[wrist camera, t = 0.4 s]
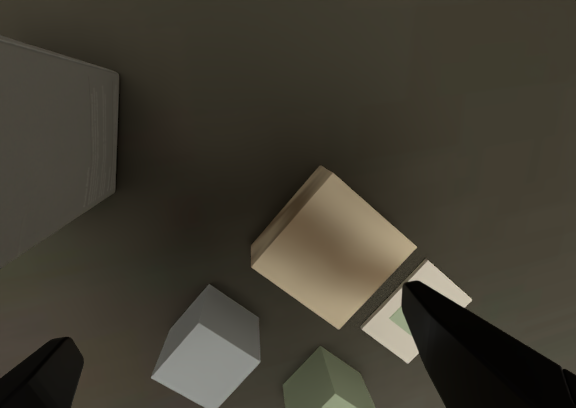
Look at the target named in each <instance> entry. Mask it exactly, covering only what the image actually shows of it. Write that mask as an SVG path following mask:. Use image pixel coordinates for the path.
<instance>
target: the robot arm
mask: <svg viewBox="0 0 576 408" xmlns="http://www.w3.org/2000/svg"><path fill="white" fill-rule="evenodd" d="M401 307H402V312H403V315H404V317H405V320H406V322H407V325H408V327H409V329H410V332H411V334H412V337H413V339H414V342H415V344H416V347H417V349H418V352H419V354H420V357H421V359H422V361H423V364H424V366H425V368H426V370H427V372H428V374H429V376H430V378H431V380H432V382H433V384H434V386H435V388H436V389H437V391H438V393H439V395H440V397H441V399H442V401H443V403H444V405H445V406H446V408H576V375H575V374H573V373H571V372H570V371H568V370H566V369H563V370H562V367H561V366H560V365H558V364H556V363H555V362H553V361H551V360H550V359H548V358H546V357H545V356H543V355H541V354H540V353H538V352H536V351H535V350H533V349H532V348H530V347H528V346H527V345H525V344H523V343H522V342H520V341H518V340H517V339H515V338H513V337H512V336H510V335H508V334H507V333H505V332H503V331H502V330H500V329H498V328H497V327H495V326H493V325H492V324H490V323H489V322H487V321H485V320H484V319H482V318H480V317H479V316H477V315H475V314H474V313H472V312H470V311H469V310H467V309H465V308H464V307H462V306H460V305H459V304H457V303H455V302H454V301H452V300H450V299H449V298H447V297H446V296H444V295H442V294H441V293H439V292H437V291H436V290H434V289H432V288H431V287H429V286H427V285H426V284H424V283H422V282H421V281H418V280H415V281H409V282H405V283H403V286H402V300H401ZM83 364H84V360H83V356H82V354H81V353H80V351H79V349H78V348H77V346H76V345H75V343H74V341H73V340H72V339H71V338H70V337H62V338H55V339H52V340H50V341H48V342H47V343H46V344H44V345H43V346H42V347H41V348H39V349H38V350H37V351H35V352H34V353H33V354H31V355H30V356H29V357H28V358H26V359H25V360H24V361H22V362H21V363H20V364H18V365H17V366H16V367H15V368H13V369H12V370H11V371H9V372H8V373H7V374H5V375H4V376H3V377H2V378H0V408H71V405H72V402H73V398H74V395H75V392H76V388H77V385H78V382H79V378H80V375H81V372H82V369H83Z"/></svg>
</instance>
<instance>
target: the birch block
mask: <svg viewBox="0 0 576 408" xmlns="http://www.w3.org/2000/svg"><path fill="white" fill-rule="evenodd" d="M416 248H417V247H416V246H415V245H414V244H413V243H412V242H411V241H410V240H408V239H407V238H406V237H405V236H404V235H403V234H402V233H401V232H399V231H398V230H397V229H396V228H395V227H394V226H393V225H391V224H390V223H389V222H388V221H387V220H386V219H385V218H384V217H382V216H381V215H380V214H379V213H378V212H377V211H376V210H375V209H373V208H372V207H371V206H370V205H369V204H368V203H367V202H365V201H364V200H363V199H362V198H361V197H360V196H359V195H358V194H356V193H355V192H354V191H353V190H352V189H351V188H350V187H349V186H347V185H346V184H345V183H344V182H343V181H342V180H341V179H340V178H338V177H337V176H336V175H335V174H334V173H333V172H331V171H329V170H328V169H326V168H324V167H323V166H321V165H320V166H319V167H318V168H317V169H316V170H315V172H314V173H313V174H312V175H311V176H310V177H309V179H308V180H307V181H306V182H305V183H304V184H303V186H302V187H301V188H300V189H299V190H298V191H297V192H296V194H295V195H294V196H293V197H292V198H291V199H290V201H289V202H288V203H287V204H286V205H285V206H284V208H283V209H282V210H281V211H280V212H279V213H278V215H277V216H276V217H275V218H274V219H273V220H272V222H271V223H270V224H269V225H268V226H267V227H266V229H265V230H264V231H263V232H262V233H261V234H260V235H259V237H258V238H257V239H256V240H255V241H254V242H253V244H252V245H251V267H252V268H253V269H254V270H256V271H257V272H259V273H260V274H261V275H263V276H264V277H266V278H267V279H268V280H270V281H271V282H273V283H274V284H275V285H277V286H278V287H280V288H281V289H282V290H284V291H285V292H287V293H288V294H289V295H291V296H292V297H294V298H295V299H296V300H298V301H299V302H301V303H302V304H303V305H305V306H306V307H308V308H309V309H310V310H312V311H313V312H315V313H316V314H317V315H319V316H320V317H322V318H323V319H324V320H326V321H327V322H329V323H330V324H331V325H333V326H334V327H336V328H337V329H338V330H339V329H340V328H341V327H342V326H343V325H344V324H345V323H346V322H347V321H348V320H349V319H350V318H351V316H352V315H353V314H354V313H355V312H356V311H357V310H358V309H359V308H360V307H361V306H362V305H363V304H364V303H365V302H366V301H367V300H368V299H369V297H370V296H371V295H372V294H373V293H374V292H375V291H376V290H377V289H378V288H379V287H380V286H381V285H382V284H383V283H384V282H385V281H386V280H387V278H388V277H389V276H390V275H391V274H392V273H393V272H394V271H395V270H396V269H397V268H398V267H399V266H400V265H401V264H402V263H403V262H404V261H405V259H406V258H407V257H408V256H409V255H410V254H411V253H412V252H413V251H414V250H415V249H416Z"/></svg>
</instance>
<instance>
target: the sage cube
mask: <svg viewBox="0 0 576 408" xmlns="http://www.w3.org/2000/svg"><path fill="white" fill-rule="evenodd" d="M283 393H284V402H285V408H375V405H374V403H373V401H372V399H371V396H370V394H369V392H368V389H367V387H366V385H365V383H364V380H363V378H362V376H361V374H360V373H359V372H358V371H356V370H355V369H353V368H352V367H350V366H349V365H348V364H346V363H345V362H343V361H342V360H340V359H339V358H337V357H336V356H335V355H333V354H332V353H330V352H329V351H327V350H326V349H324V348H323V347H321V346H319V347H318V349H317V350H316V351H315V352H314V353H313V354H312V355H311V356H310V357H309V358H308V359H307V360H306V361H305V362H304V363H303V364H302V365H301V366H300V367H299V368H298V370H297V371H296V372H295V373H294V374H293V375H292V376H291V377H290V378H289V379H288V380H287V381H286V382H285V383H284V384H283Z"/></svg>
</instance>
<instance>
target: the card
mask: <svg viewBox="0 0 576 408" xmlns="http://www.w3.org/2000/svg"><path fill="white" fill-rule="evenodd" d="M415 280H418V281H421V282H422V283H424V284H426V285H427V286H429V287H431V288H432V289H434V290H436V291H437V292H439V293H441V294H442V295H444V296H446V297H447V298H449V299H450V300H452V301H454V302H455V303H457V304H459V305H460V306H462V307H464V308H465V307H466V306H467V305H468V304H469V303H470V302H471V301H472V299H471V298H470V297H469V296H468V295H467V294H465V293H464V292H463V291H462V290H461V289H460V288H459V287H458V286H456V285H455V284H454V283H453V282H452V281H451V280H450V279H449V278H447V277H446V276H445V275H444V274H443V273H442V272H441V271H440V270H438V269H437V268H436V267H435V266H434V265H433V264H432V263H431V262H429V261H428V260H427V259H426V258H425V259H424V261H423V262H422V263H421V264H420V265H419V266H418V267H417V268H416V269H415V270H414V271H413V272H412V273H411V274H410V275H409V276H408V277H407V278H406V279H405V280H404V281H403V282H402V283H401V284H400V285H399V286H398V288H397V289H396V290H395V291H394V292H393V293H392V294H391V295H390V296H389V297H388V298H387V299H386V300H385V301H384V302H383V303H382V304H381V305H380V306H379V307H378V308H377V309H376V310H375V311H374V312H373V313H372V314H371V316H370V317H369V318H368V319H367V320H366V321H365V322H364V323H363V324H362V325H361V326H360V327H361V329H362V330H363V331H365V332H366V333H367V334H369V335H370V336H371V337H373V338H374V339H375V340H377V341H378V342H379V343H381V344H382V345H383V346H385V347H386V348H388V349H389V350H390V351H392V352H393V353H394V354H396V355H397V356H398V357H400V358H401V359H402V360H404V361H405V362H406V363H409V362H410V361H411V360H412V359H413V358H414V357H415V356H416V355H417V354H418V353H419V352H418V349H417V347H416V344H415V342H414V339H413V337H412V334H411V332H410V329H409V327H408V325H407V322H406V320H405V317H404V315H403V312H402V307H401V300H402V286H403V283H405V282H409V281H415Z"/></svg>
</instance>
